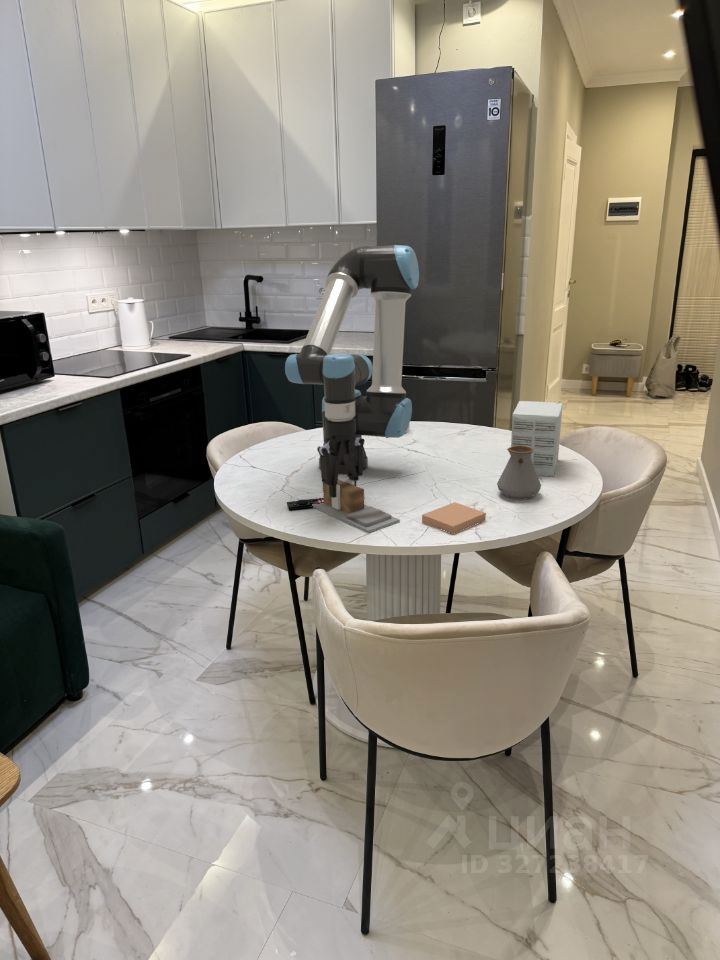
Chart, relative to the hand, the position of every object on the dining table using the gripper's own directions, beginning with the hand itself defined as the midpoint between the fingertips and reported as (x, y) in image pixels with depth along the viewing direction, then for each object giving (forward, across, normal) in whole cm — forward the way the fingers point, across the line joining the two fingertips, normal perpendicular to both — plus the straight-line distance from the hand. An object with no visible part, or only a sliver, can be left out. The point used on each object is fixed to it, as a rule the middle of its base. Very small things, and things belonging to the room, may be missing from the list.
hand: (343, 505), depth 173 cm
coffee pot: (+1, +37, -27) cm, 46 cm away
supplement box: (+1, +64, -12) cm, 65 cm away
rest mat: (+1, 0, -4) cm, 4 cm away
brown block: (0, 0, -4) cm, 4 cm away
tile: (0, +15, -20) cm, 25 cm away
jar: (+1, +61, +46) cm, 76 cm away
